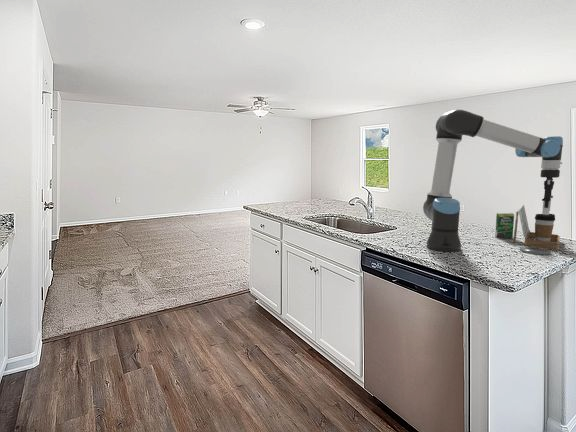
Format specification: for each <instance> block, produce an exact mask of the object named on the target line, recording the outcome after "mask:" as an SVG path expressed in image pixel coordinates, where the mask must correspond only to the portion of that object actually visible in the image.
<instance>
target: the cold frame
mask: <svg viewBox="0 0 576 432" xmlns="http://www.w3.org/2000/svg"><path fill="white" fill-rule="evenodd" d="M517 210H518V211H516V212H515V219H514V222H515V223H514V229H513V242H512V243H513V244H516V242H517V241H516V240H517V234H518V233H517V231H518V223H519V222H518V221H519V220H520V225H521V229H522V234H523V238H524V245H523V247H535V248H542V249H546V250H552V249H553V250H554V251H559V250H560V237H561V236H560V235H558V234H554V233H552V235H551V238H550V242H549V241H540V240H535V231H531V229H530V227H529V222H528V216H527V213H526V208H525V204H521V206H519V208H518V209H517ZM555 241H556V242H555Z"/></svg>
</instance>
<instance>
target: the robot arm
mask: <svg viewBox="0 0 576 432" xmlns="http://www.w3.org/2000/svg"><path fill="white" fill-rule="evenodd" d="M435 131H436V137H435V140H436V141H437V142H438V146H437V152H436V159H435V163H434V164H435V165H434V171H433V176H432V185H431V189H430V191H429V192H428V193H427V196H426V200H425V201H424V203H423V207H422V210H423V211H422V212H423V214H424V216H425V217H427V218H428V219H429V220H430V221H431V231H430V234H429V236H428V239H427V241H426V247H427V248H428V249H431V250H434V251H439V252H458V251H460V250H462V244H461V240H460V239H461V238H460V236H459V223H460V215H461V214H460V210H461V202H460V201H459V200H458V199H456V198H453V196H452V194H451V192H450V191H451V186H452V179H453V173H454V167H455V161H456V156H457V148H458V145H459V144H460V142H462V139H463V136H467V137H472V138H475V137H479V138H482V139H485V140H488V141H492V142H494V143H498V144H500V145H504V146H507V147H510V148H514V149H515V155H516V157H518V158H542V159H541V165H540V168H541V170H540V178H546V180H544V182H543V185H544V187H543V189H544V195H543V198H542V199H541V201H542V211H541V214H545V215H549V214H550V211H551V203H552V199H553V198H554V195H553V194H552V191H553V189H554V186H555V181H554V178H555V179H557V178H559V177H560V175H561V170H560V169H561V165H563V162H562V153H563V147H564V145H563V144H564V138H563V137H562V136H558V135H557V136H544V138H543V137H540V136H538V135H534V134H531V133H528V132H524V131H521V130H517V129H516V128H515V129H514V128H511V127H508V126H506V125H502V124H499V123H496V122H494V121H490V120H486V119H485V118H484V116H482V115H479V114H476V113H473V112H470V111H468V110H463V109H454V110H451V111H447V112H445V113H443V114H441V115H440V117H439V118H438V119H437V120H436V123H435Z"/></svg>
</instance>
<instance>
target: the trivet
mask: <svg viewBox="0 0 576 432" xmlns="http://www.w3.org/2000/svg"><path fill="white" fill-rule="evenodd" d="M519 251H520V252H522V253H526V254H531V255H538V256H549V255H551V254H552V251H551V250H550V249H544V248H536V247H527V246H523V247H520V248H519Z"/></svg>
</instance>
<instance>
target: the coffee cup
mask: <svg viewBox="0 0 576 432" xmlns="http://www.w3.org/2000/svg"><path fill="white" fill-rule="evenodd" d="M534 219H535V223H534V232H535V239H534V240H540V241H549V242H551V241H550V238H551V235H552V234H553V229H554V226H555V224H554V223H555V221H556V214H554V213H549V215H545V214H542V213H536V214H535V216H534Z"/></svg>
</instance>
